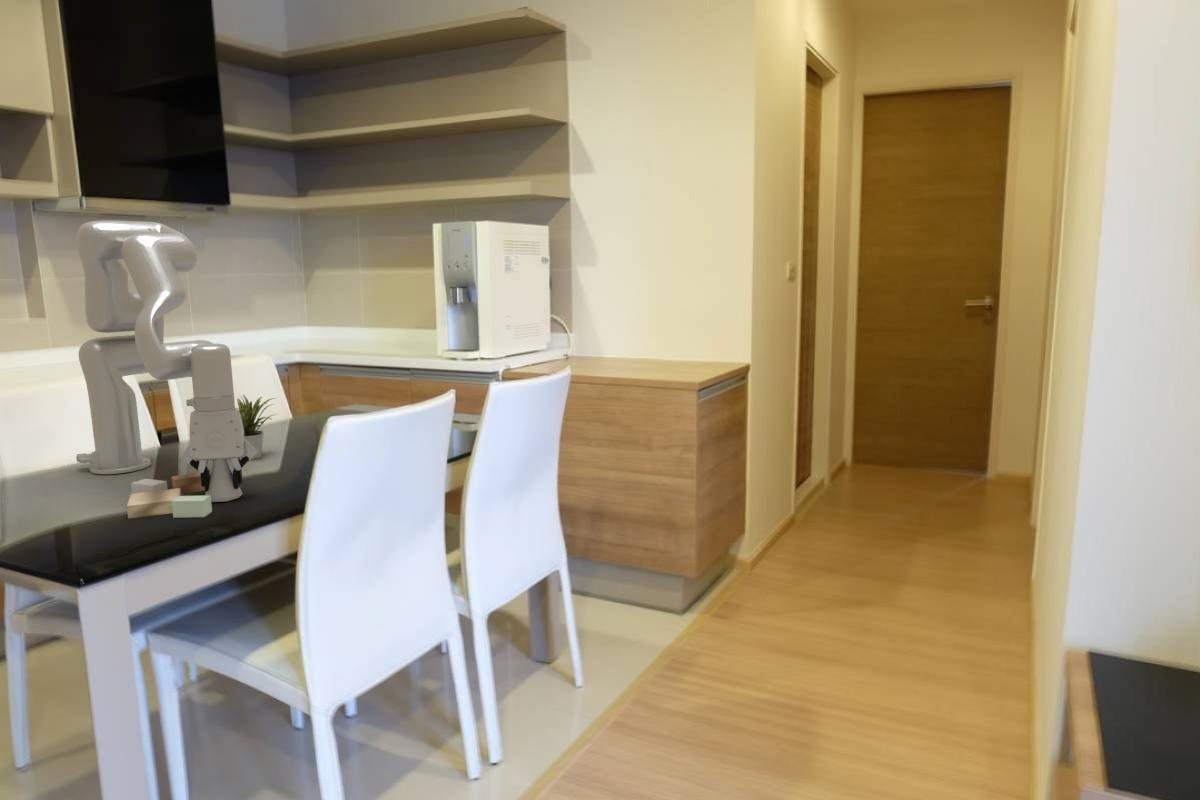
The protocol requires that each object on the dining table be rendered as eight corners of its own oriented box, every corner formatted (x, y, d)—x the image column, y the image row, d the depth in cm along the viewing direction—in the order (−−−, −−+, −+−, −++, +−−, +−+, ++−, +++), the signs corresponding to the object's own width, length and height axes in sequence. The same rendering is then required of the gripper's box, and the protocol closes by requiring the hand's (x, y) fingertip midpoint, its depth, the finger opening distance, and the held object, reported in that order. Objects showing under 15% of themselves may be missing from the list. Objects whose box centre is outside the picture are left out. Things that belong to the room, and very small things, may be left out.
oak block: (128, 520, 157) (126, 506, 156) (132, 507, 165) (130, 493, 164) (180, 514, 161) (178, 499, 160) (181, 501, 169) (180, 488, 168)
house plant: (297, 453, 207) (293, 391, 204) (255, 466, 194) (249, 400, 191) (256, 448, 212) (251, 387, 209) (212, 460, 200) (206, 396, 197)
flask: (227, 504, 165) (223, 457, 164) (196, 502, 167) (192, 455, 165) (249, 494, 172) (245, 448, 171) (219, 492, 174) (215, 447, 172)
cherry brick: (175, 495, 172) (174, 480, 171) (173, 491, 175) (171, 476, 174) (206, 490, 175) (204, 475, 175) (203, 487, 178) (201, 471, 178)
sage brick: (173, 518, 157) (171, 501, 157) (181, 512, 161) (179, 496, 160) (204, 517, 158) (203, 500, 157) (212, 512, 161) (210, 495, 160)
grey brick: (132, 499, 170) (131, 483, 169) (147, 494, 173) (145, 478, 172) (154, 501, 168) (152, 485, 167) (168, 497, 171) (166, 481, 170)
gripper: (164, 409, 160) (174, 497, 163) (256, 404, 165) (263, 490, 168) (173, 402, 167) (182, 486, 171) (261, 398, 172) (268, 480, 175)
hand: (222, 487), depth 169 cm, fingers closed on flask, 5 cm apart
